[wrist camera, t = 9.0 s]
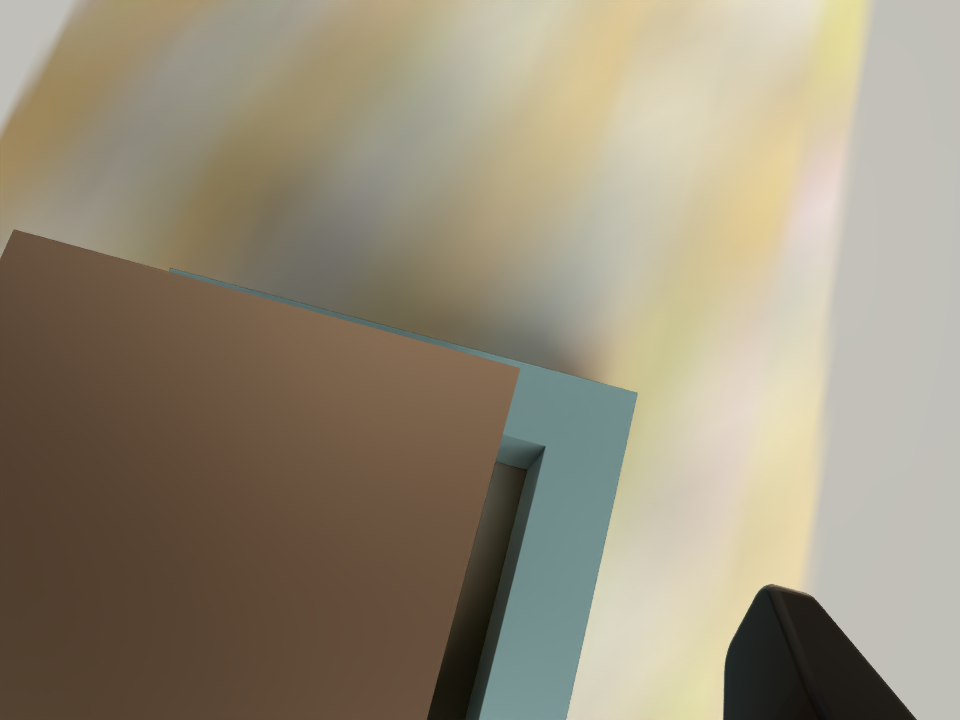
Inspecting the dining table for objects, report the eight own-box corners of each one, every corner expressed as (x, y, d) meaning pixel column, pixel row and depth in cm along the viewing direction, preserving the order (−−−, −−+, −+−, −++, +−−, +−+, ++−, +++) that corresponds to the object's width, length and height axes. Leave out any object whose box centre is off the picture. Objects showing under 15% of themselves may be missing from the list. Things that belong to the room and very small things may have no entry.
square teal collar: (503, 863, 15) (519, 934, 12) (64, 740, 15) (-28, 779, 12) (603, 425, 17) (637, 392, 14) (216, 322, 17) (170, 268, 14)
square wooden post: (416, 696, 15) (361, 962, 5) (232, 644, 15) (-241, 785, 5) (467, 508, 16) (521, 367, 6) (293, 460, 16) (15, 229, 6)
